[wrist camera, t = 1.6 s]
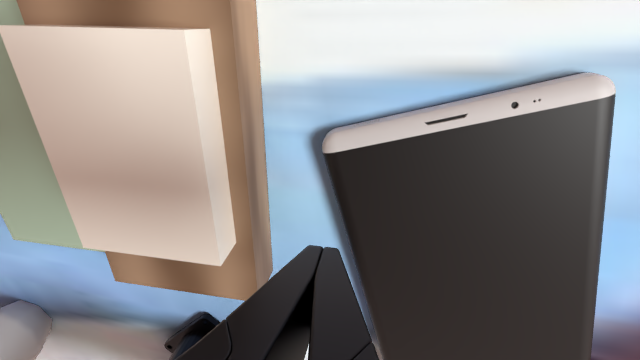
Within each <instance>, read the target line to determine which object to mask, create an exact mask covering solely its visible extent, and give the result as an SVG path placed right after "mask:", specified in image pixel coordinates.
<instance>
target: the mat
mask: <svg viewBox="0 0 640 360" xmlns="http://www.w3.org/2000/svg"><path fill="white" fill-rule="evenodd" d="M0 25H25V24H24V21H23V18H22V15H21V12H20V9H19V7H18V4H17V1H16V0H0ZM0 214H1V216H2V217H3V219H4V221H5V223H6V225H7V227H8V229H9V231H10V233H11V235H12V237H13V239H14V240H20V241H27V242H35V243H42V244H49V245H56V246H64V247H71V248H78V249H86V250H93V251H100V252H105V251H104V250H96V249H89V248H83V246H82V243H81V240H80V238H79V235H78V233H77V230H76V227H75V225H74V222H73V220H72V217H71V215H70V212H69V209H68V207H67V204H66V202H65V199H64V197H63V194H62V191H61V189H60V186H59V184H58V181H57V179H56V176H55V173H54V171H53V168H52V166H51V163H50V161H49V158H48V155H47V153H46V150H45V148H44V145H43V143H42V140H41V137H40V135H39V132H38V130H37V127H36V125H35V122H34V119H33V117H32V114H31V112H30V109H29V106H28V104H27V101H26V99H25V96H24V94H23V91H22V88H21V86H20V83H19V81H18V78H17V76H16V73H15V70H14V68H13V65H12V63H11V60H10V58H9V55H8V52H7V50H6V47H5V45H4V42H3V40H2V37H1V34H0Z"/></svg>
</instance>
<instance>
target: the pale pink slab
mask: <svg viewBox="0 0 640 360" xmlns="http://www.w3.org/2000/svg"><path fill="white" fill-rule="evenodd" d="M0 34H1V37H2V40H3V42H4V45H5V47H6V50H7V52H8V55H9V58H10V60H11V63H12V65H13V68H14V70H15V73H16V76H17V78H18V81H19V83H20V86H21V88H22V91H23V94H24V96H25V99H26V101H27V104H28V106H29V109H30V112H31V114H32V117H33V119H34V122H35V125H36V127H37V130H38V132H39V135H40V137H41V140H42V143H43V145H44V148H45V150H46V153H47V155H48V158H49V161H50V163H51V166H52V168H53V171H54V173H55V176H56V179H57V181H58V184H59V186H60V189H61V191H62V194H63V197H64V199H65V202H66V204H67V207H68V209H69V212H70V215H71V217H72V220H73V222H74V225H75V227H76V230H77V233H78V235H79V238H80V240H81V243H82V246H83V248H89V249H96V250H104V251H111V252H119V253H126V254H133V255H141V256H148V257H155V258H163V259H170V260H177V261H185V262H192V263H199V264H207V265H214V266H221V265H222V264H223V262H224V261H225V259H226V258H227V256H228V254H229V253H230V251H231V250H232V248H233V247H234V245H235V244H236V237H235V228H234V220H233V212H232V204H231V196H230V188H229V180H228V172H227V163H226V155H225V147H224V139H223V131H222V123H221V115H220V106H219V98H218V90H217V82H216V74H215V66H214V58H213V49H212V41H211V33H210V29H204V28H163V27H121V26H79V25H0Z"/></svg>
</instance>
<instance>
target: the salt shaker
mask: <svg viewBox="0 0 640 360" xmlns="http://www.w3.org/2000/svg"><path fill="white" fill-rule="evenodd" d="M51 327H52V319H51V318H50V317H49V316H48V315H47V314H46V313H45V312H44V311H43V310H42V309H41V308H40V307H39V306H38V305H35V304H32V303H29V302H26V301H22V300H19V301H16V302H14V303H11V304H9V305H6V306H4V307H1V308H0V360H34V359H35V358H36V357H37V356H38V354H39V353H40V351H41V349H42V348H43V345H44V343H45V341H46V339H47V337H48V335H49V333H50V331H51Z"/></svg>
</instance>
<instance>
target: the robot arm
mask: <svg viewBox="0 0 640 360" xmlns="http://www.w3.org/2000/svg"><path fill="white" fill-rule="evenodd" d="M308 344H309V353H308V360H379V358H378V355H377V352H376V350H375V347H374V344H373V343H372V339H371V336H370V334H369V331H368V328H367V326H366V323H365V320H364V317H363V315H362V312H361V309H360V306H359V304H358V301H357V298H356V296H355V293H354V290H353V287H352V285H351V282H350V279H349V277H348V274H347V271H346V268H345V266H344V263H343V260H342V257H341V255H340V252H339V250H338V249H337V248H330V247H325V248H323V247H321V246H313V245H309V246H307V247H306V248H305V249H304V250H303V251H301V252H300V253H299V254H298V255H297V256H296V257H295V258H294V259H292V260H291V261H290V262H289V263H288V264H287V265H286V266H284V267H283V268H282V269H281V270H280V271H279V272H278V273H277V274H275V275H274V276H273V277H272V278H271V279H270V280H269V281H267V282H266V283H265V284H264V285H263V286H262V287H261V288H259V289H258V290H257V291H256V292H255V293H254V294H253V295H252V296H250V297H249V298H248V299H247V300H246V301H245V302H244V303H242V304H241V305H240V306H239V307H238V308H237V309H236V310H235V311H233V312H232V313H231V314H230V315H229V316H228V317H227V318H226V320H223V321H222V322H221V323H219V322H218V321H217V320H215V319H214V318H213V317H211V316H210V315H208V314H204V315H202V316H201V317H199V318H198V319H196V320H195V321H194V322H192V323H191V324H189V325H188V326H186V327H185V328H184V329H182V330H181V331H179V332H178V333H177V334H175V335H174V336H172V337H171V338H170V339H168V340H167V342H166V343H165V348H166V349H167V350H169V351H170V352H171V353H173V354H172V356H171V357H170V359H169V360H304V358H305V354H306V351H307V348H308Z"/></svg>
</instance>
